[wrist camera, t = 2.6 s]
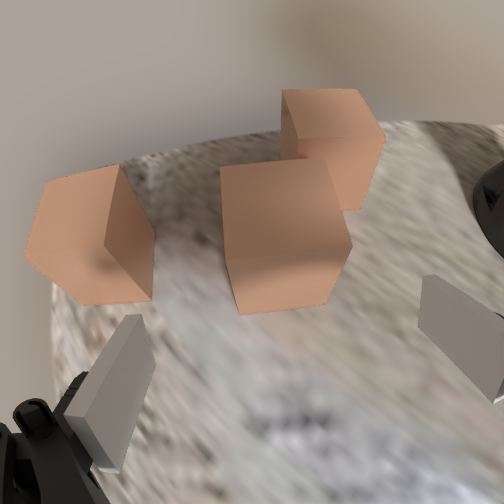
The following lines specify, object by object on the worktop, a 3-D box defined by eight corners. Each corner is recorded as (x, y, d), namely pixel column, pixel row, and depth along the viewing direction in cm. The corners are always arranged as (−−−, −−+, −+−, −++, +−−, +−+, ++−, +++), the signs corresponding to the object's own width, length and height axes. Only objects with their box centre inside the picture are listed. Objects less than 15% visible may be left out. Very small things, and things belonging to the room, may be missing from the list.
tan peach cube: (155, 232, 32) (119, 163, 23) (152, 300, 28) (103, 245, 19) (93, 241, 32) (46, 181, 23) (84, 305, 28) (23, 257, 19)
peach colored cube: (341, 159, 36) (356, 89, 27) (360, 209, 32) (386, 136, 23) (279, 163, 36) (281, 89, 27) (291, 215, 32) (298, 138, 23)
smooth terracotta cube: (309, 232, 31) (323, 157, 22) (324, 304, 27) (352, 246, 18) (232, 240, 31) (219, 166, 22) (239, 315, 27) (225, 260, 18)
